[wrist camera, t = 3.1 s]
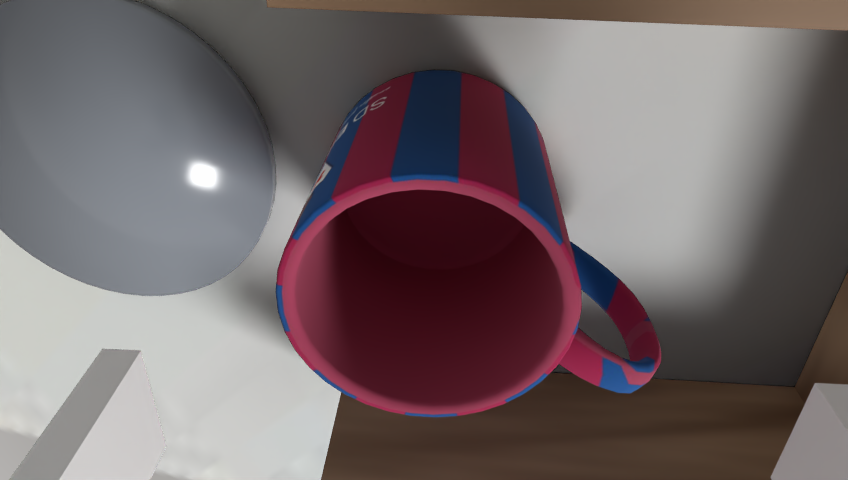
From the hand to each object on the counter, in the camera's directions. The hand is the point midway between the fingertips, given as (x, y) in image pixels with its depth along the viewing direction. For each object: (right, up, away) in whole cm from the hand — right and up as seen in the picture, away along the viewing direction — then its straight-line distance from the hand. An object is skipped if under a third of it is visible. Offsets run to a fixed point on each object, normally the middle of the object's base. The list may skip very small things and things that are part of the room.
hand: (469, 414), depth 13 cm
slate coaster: (-11, +6, +7) cm, 14 cm away
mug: (+1, +5, +7) cm, 9 cm away
